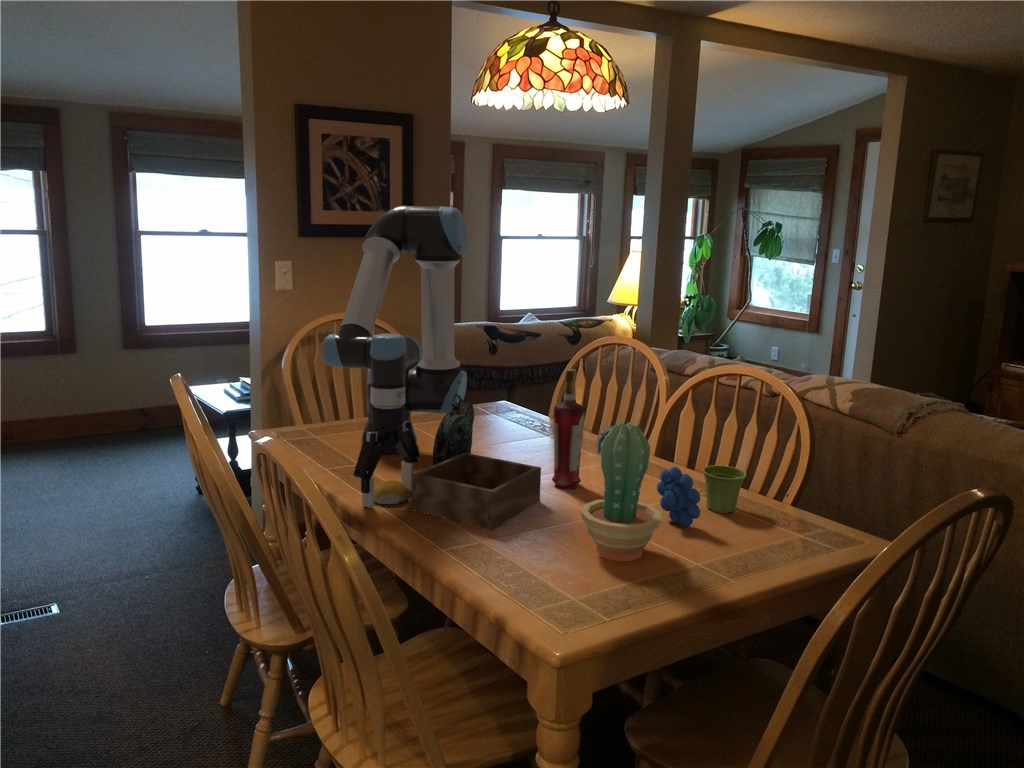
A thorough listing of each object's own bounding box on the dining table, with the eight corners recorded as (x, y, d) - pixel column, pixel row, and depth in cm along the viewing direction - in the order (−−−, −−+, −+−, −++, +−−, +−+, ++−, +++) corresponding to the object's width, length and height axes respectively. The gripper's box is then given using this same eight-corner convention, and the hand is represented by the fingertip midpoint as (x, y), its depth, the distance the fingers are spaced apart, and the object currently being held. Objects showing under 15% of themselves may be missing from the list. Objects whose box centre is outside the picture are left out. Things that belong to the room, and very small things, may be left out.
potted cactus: (651, 536, 161) (659, 416, 156) (667, 569, 146) (677, 436, 141) (575, 535, 161) (580, 414, 156) (583, 567, 146) (589, 435, 141)
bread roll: (407, 492, 184) (408, 475, 183) (407, 506, 175) (407, 488, 175) (371, 492, 183) (371, 476, 182) (369, 506, 174) (369, 488, 174)
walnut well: (411, 510, 172) (411, 474, 171) (463, 484, 190) (464, 452, 188) (492, 530, 162) (493, 492, 161) (539, 501, 180) (541, 467, 178)
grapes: (641, 518, 171) (645, 464, 169) (663, 512, 175) (667, 459, 173) (683, 536, 162) (687, 479, 160) (705, 529, 166) (710, 473, 164)
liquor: (556, 478, 196) (560, 366, 191) (585, 482, 194) (590, 369, 188) (546, 487, 190) (551, 371, 184) (576, 491, 187) (581, 374, 181)
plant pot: (744, 505, 181) (747, 468, 180) (741, 518, 173) (745, 480, 171) (702, 499, 184) (704, 463, 183) (697, 512, 176) (700, 474, 174)
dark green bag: (455, 463, 207) (457, 387, 203) (479, 465, 205) (481, 389, 201) (427, 486, 188) (427, 403, 184) (453, 489, 186) (454, 405, 182)
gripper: (364, 418, 162) (364, 517, 166) (435, 397, 184) (434, 486, 188) (335, 413, 166) (337, 510, 170) (409, 393, 187) (408, 480, 191)
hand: (388, 498), depth 179 cm, fingers open, 13 cm apart
